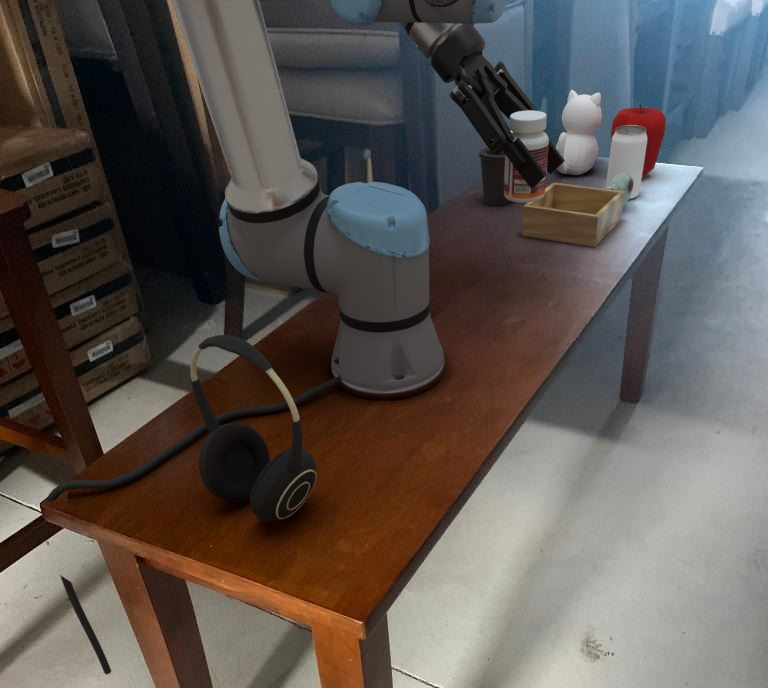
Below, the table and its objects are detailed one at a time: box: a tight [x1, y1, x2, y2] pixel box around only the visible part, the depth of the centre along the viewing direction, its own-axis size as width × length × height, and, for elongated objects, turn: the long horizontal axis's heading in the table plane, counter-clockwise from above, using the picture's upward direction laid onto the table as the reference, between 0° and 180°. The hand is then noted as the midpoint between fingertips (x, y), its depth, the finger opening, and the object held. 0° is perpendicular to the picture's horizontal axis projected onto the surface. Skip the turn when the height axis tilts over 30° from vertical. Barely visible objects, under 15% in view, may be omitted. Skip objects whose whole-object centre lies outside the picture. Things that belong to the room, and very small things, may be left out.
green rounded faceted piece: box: [605, 172, 633, 206], centre depth 143 cm, size 8×4×7 cm, turn 142°
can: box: [605, 125, 647, 201], centre depth 147 cm, size 6×6×12 cm
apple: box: [610, 103, 667, 178], centre depth 155 cm, size 10×10×14 cm
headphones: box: [189, 334, 317, 522], centre depth 78 cm, size 9×15×20 cm, turn 53°
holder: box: [521, 182, 625, 248], centre depth 138 cm, size 14×14×5 cm
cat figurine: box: [555, 89, 603, 176], centre depth 159 cm, size 9×12×15 cm
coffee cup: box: [477, 146, 512, 207], centre depth 150 cm, size 8×8×10 cm
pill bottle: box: [504, 110, 550, 204], centre depth 113 cm, size 6×6×11 cm
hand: (548, 174), depth 112 cm, fingers closed on pill bottle, 6 cm apart
